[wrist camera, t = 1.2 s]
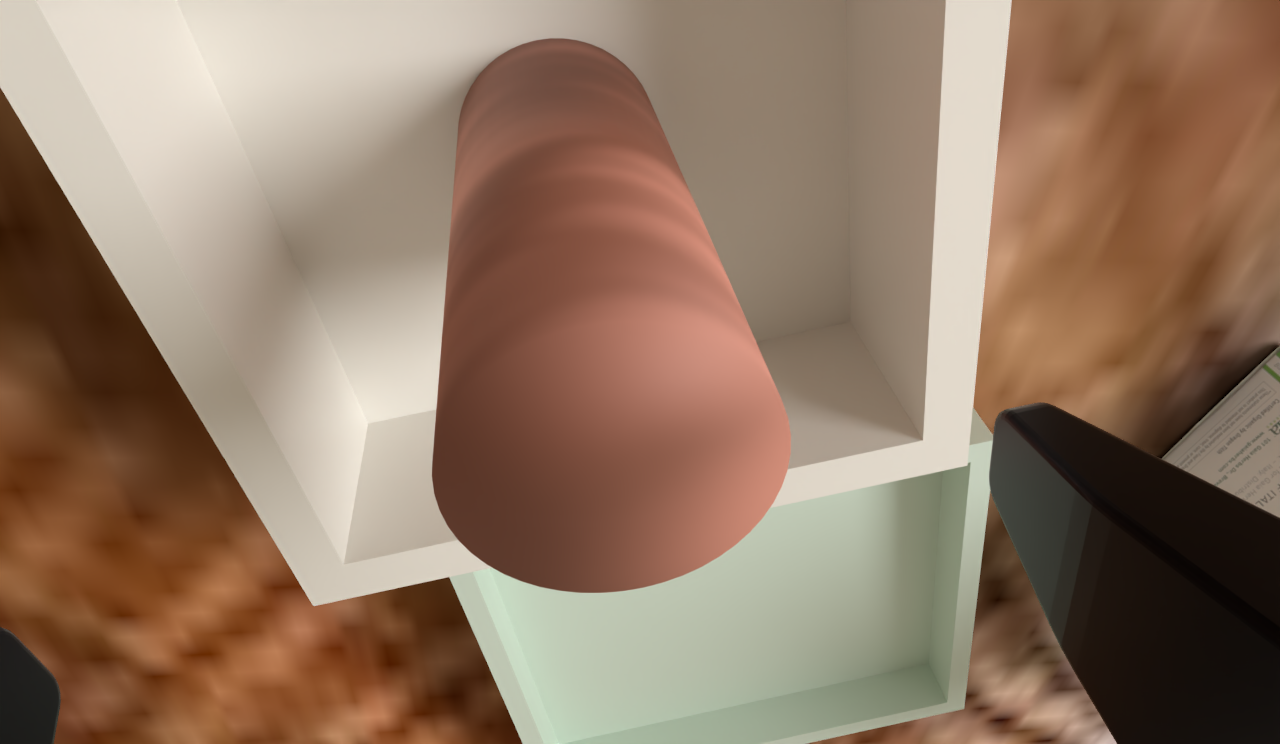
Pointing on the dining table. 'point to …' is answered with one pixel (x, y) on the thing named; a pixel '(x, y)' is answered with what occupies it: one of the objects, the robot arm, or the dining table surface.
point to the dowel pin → (591, 341)
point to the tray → (758, 626)
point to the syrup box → (1240, 440)
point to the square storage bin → (422, 206)
